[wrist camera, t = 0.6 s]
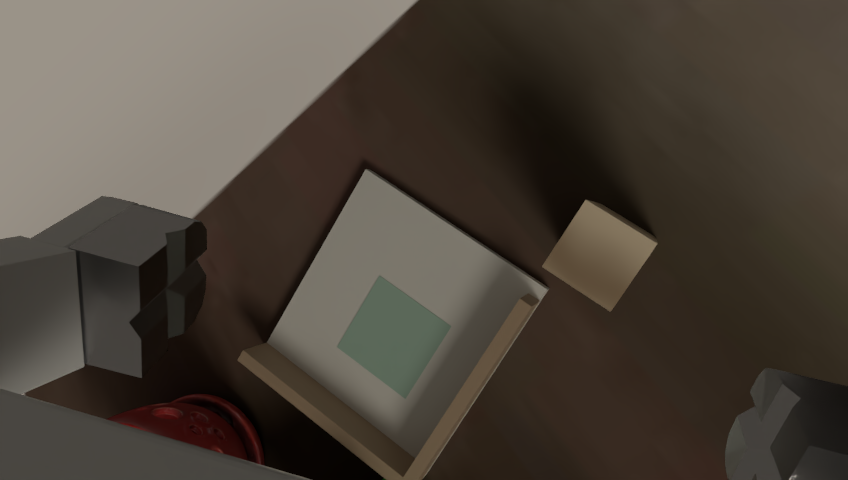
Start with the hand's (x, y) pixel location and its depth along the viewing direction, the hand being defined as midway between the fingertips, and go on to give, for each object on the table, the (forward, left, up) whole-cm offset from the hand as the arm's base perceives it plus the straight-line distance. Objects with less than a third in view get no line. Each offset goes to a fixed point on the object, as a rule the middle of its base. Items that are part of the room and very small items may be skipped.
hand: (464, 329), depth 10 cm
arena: (+15, -10, -41) cm, 45 cm away
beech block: (+1, 0, -41) cm, 41 cm away
